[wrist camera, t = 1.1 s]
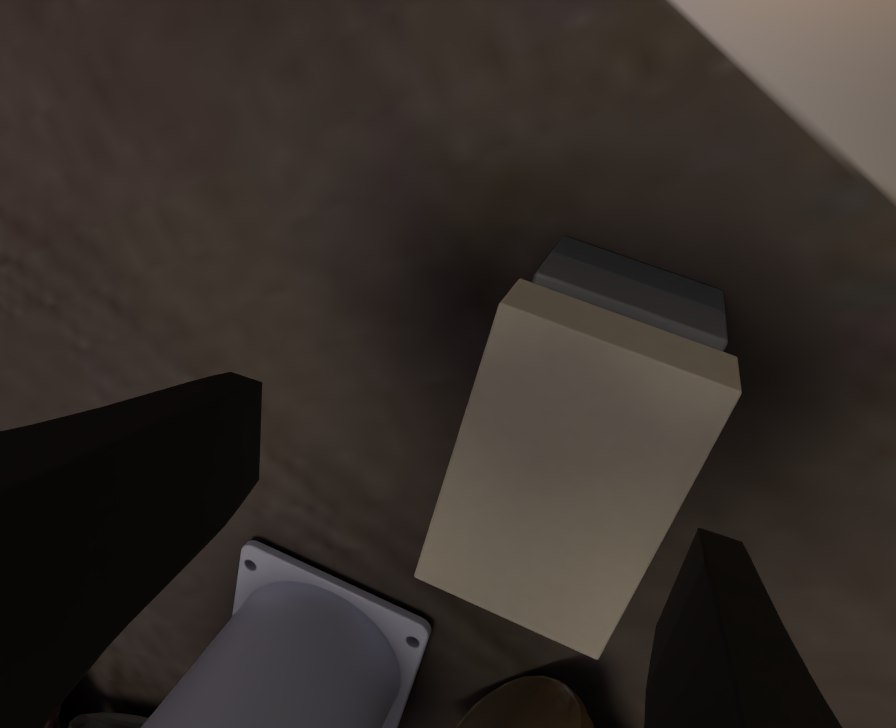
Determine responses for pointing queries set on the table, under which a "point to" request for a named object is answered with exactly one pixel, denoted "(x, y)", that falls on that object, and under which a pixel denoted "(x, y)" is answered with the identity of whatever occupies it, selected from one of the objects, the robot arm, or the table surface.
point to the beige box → (572, 463)
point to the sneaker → (107, 720)
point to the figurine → (529, 706)
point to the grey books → (636, 291)
